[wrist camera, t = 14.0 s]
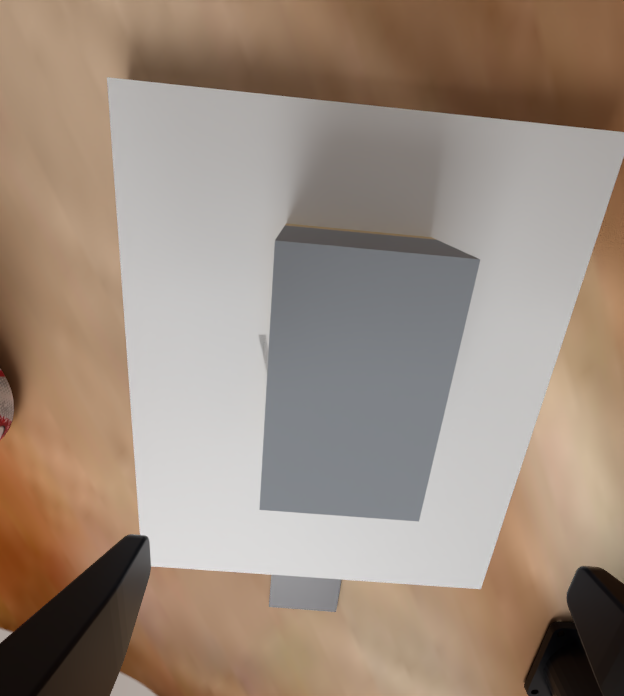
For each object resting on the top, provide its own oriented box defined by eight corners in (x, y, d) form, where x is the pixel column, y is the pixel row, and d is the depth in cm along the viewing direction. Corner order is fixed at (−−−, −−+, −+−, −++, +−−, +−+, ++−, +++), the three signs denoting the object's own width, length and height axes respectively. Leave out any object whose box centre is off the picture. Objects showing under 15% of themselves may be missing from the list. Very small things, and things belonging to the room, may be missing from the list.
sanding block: (393, 439, 19) (419, 521, 15) (272, 429, 19) (259, 509, 14) (431, 237, 16) (480, 259, 11) (286, 223, 16) (274, 240, 11)
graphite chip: (335, 599, 26) (336, 612, 25) (270, 594, 26) (268, 606, 25) (343, 550, 24) (344, 561, 24) (274, 544, 24) (273, 556, 24)
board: (470, 565, 24) (480, 588, 23) (152, 542, 23) (142, 565, 22) (603, 137, 16) (631, 133, 15) (125, 87, 15) (107, 77, 14)
